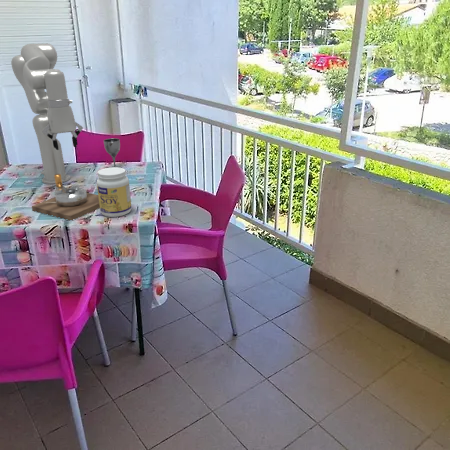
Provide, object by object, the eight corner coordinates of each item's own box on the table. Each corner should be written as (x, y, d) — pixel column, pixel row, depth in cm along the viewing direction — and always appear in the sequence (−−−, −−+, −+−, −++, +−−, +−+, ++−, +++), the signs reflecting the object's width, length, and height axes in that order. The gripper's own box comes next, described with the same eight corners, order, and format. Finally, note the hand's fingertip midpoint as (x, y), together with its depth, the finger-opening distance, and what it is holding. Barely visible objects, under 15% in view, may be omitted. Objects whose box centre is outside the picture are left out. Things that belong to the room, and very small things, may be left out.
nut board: (32, 210, 175) (31, 205, 174) (74, 194, 192) (73, 189, 191) (71, 220, 165) (70, 215, 164) (111, 202, 182) (111, 197, 181)
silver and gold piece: (92, 201, 177) (89, 181, 173) (63, 209, 170) (59, 188, 166) (72, 189, 190) (69, 171, 187) (45, 196, 183) (41, 177, 180)
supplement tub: (96, 217, 167) (90, 175, 160) (106, 206, 178) (100, 166, 172) (127, 218, 167) (123, 175, 160) (135, 206, 178) (131, 166, 171)
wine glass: (115, 171, 222) (111, 142, 216) (104, 169, 226) (100, 140, 220) (126, 167, 228) (122, 139, 222) (115, 165, 232) (111, 137, 226)
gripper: (78, 100, 180) (84, 143, 187) (34, 104, 172) (42, 149, 179) (83, 103, 174) (89, 147, 181) (37, 107, 166) (45, 153, 173)
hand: (66, 147), depth 180 cm, fingers open, 6 cm apart
